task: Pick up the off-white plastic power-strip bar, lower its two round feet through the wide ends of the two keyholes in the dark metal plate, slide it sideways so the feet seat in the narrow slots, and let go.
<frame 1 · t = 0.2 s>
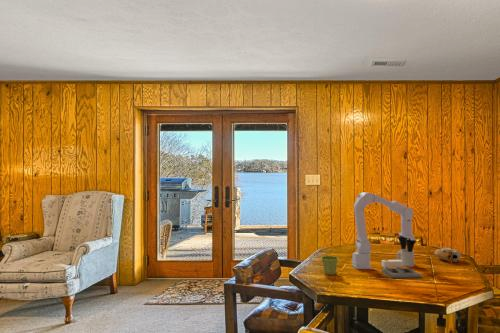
hand: (406, 250, 199), 10 cm above the table, fingers open, 7 cm apart
cup: (405, 265, 204), on the table
keyhole plate: (400, 274, 185), on the table
plant pot: (329, 273, 187), on the table
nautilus: (447, 261, 212), on the table
power strip: (392, 269, 195), on the table
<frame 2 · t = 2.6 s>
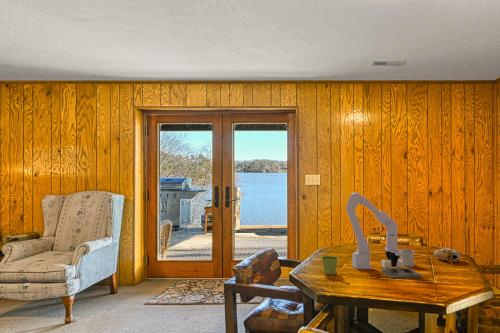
hand: (392, 265, 195), 2 cm above the table, fingers closed on power strip, 4 cm apart
power strip: (392, 269, 195), on the table, touching gripper
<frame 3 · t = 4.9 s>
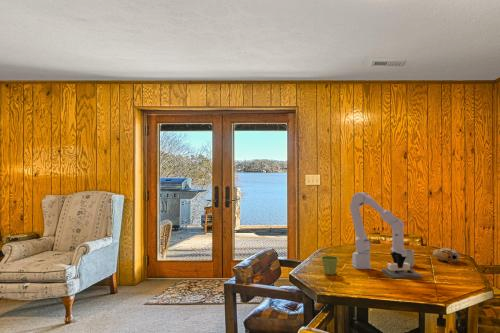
hand: (398, 266, 187), 4 cm above the table, fingers closed on power strip, 4 cm apart
power strip: (398, 272, 187), on the table, touching gripper
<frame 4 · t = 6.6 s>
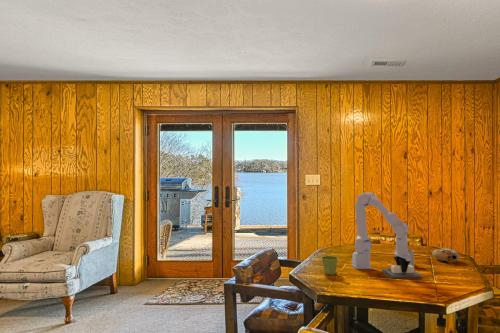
hand: (402, 271, 183), 2 cm above the table, fingers closed on power strip, 4 cm apart
power strip: (402, 275, 183), on the table, touching gripper
when the fingers open (2 cm above the table, at t = 7.4 s): power strip stays where it is, on the table.
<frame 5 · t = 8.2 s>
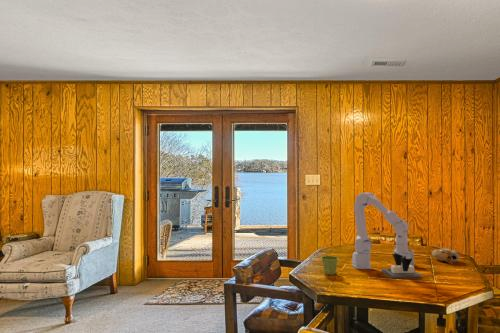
hand: (402, 269, 183), 3 cm above the table, fingers open, 7 cm apart
power strip: (402, 275, 183), on the table
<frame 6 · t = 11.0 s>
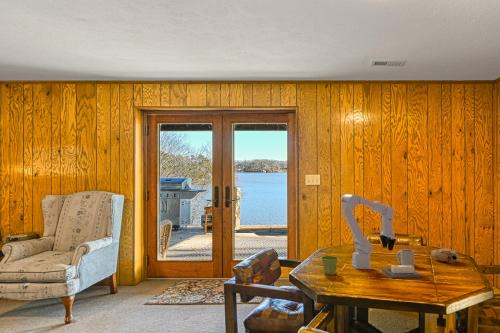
hand: (387, 248, 203), 10 cm above the table, fingers open, 7 cm apart
at the end: power strip 0.3 cm from the target spot on the keyhole plate, point 0.0 cm above the keyhole plate's base; power strip tilted 0°; the gripper is holding nothing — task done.
